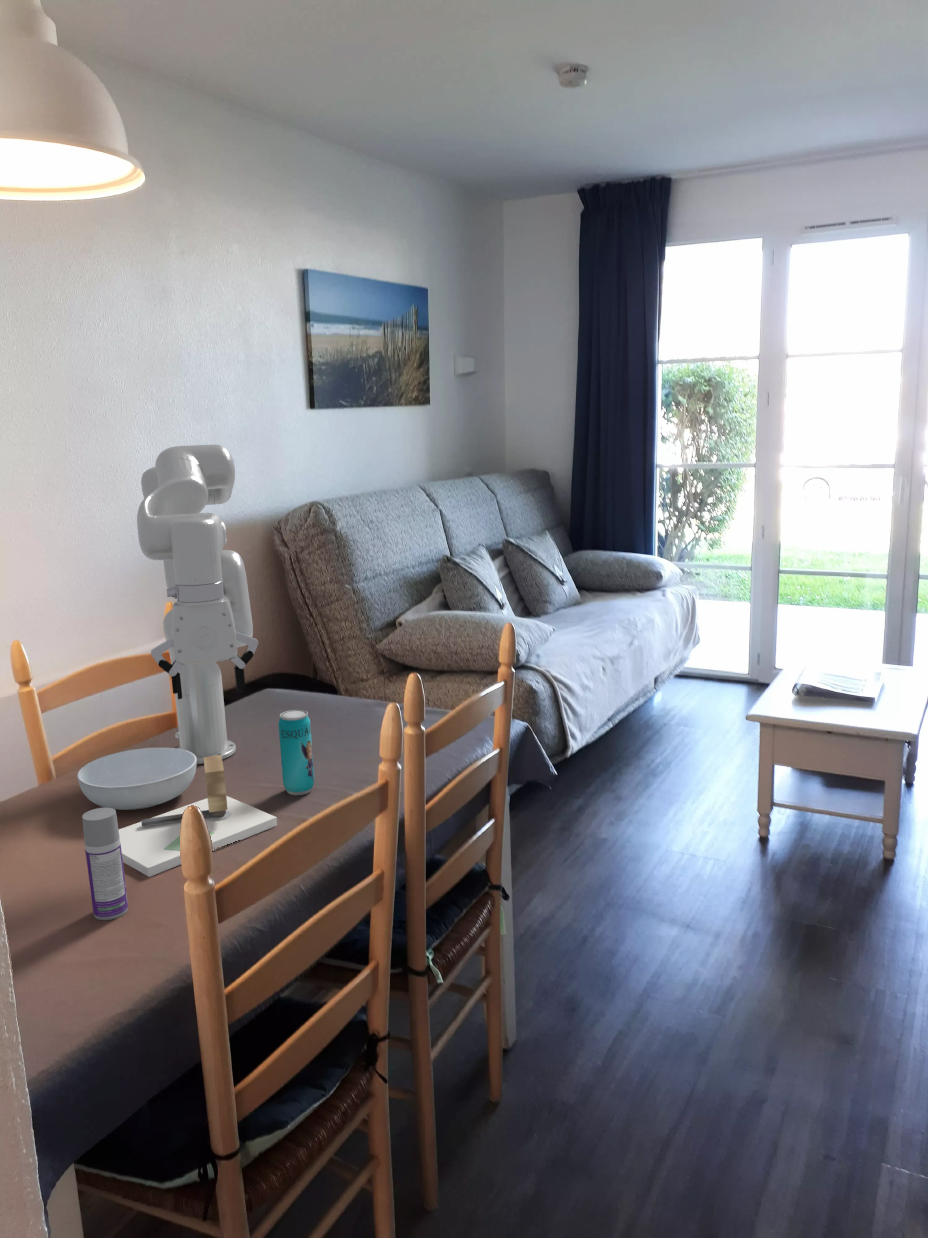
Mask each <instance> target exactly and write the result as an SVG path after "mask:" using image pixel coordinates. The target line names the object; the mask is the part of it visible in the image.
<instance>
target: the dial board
mask: <svg viewBox="0 0 928 1238" xmlns="http://www.w3.org/2000/svg"><path fill="white" fill-rule="evenodd" d="M226 798H227V809H228V810H226V814H225V815H223V816H219V817H213V816H208V817H204V818H205V820H206V823H207V826H208V831H209V833H210V836H211V840H212V846H213V852H215V851H214V847H215V849H216V848H217V847H221V846H224V845H227V844H230V843H232V844H234V843H233V842H235V841H237V842H239V841H238V840H240V841H242V840H244V839H248V838H249V837H252V836H255V835H257V834H259V833H263V832H265V831H267V830H269V829H273V828H274V827H277V826H278V818H277V816H275V815H272V814H270V813H267V812H265V811H264V810H260V809H259V808H256V807H254V806H251V805H249V804H246V803H244V802H242V801H239V800H237V799H235V798H232V797H231V796H228V795H226ZM191 805H194V806H197V807H199V808H200V810H201V811H205V810H209V806H208V798H207V797H206V798H204V799H201V800H200V799H199V800H198V801H195V802H192V803H190V804H187V805H184V806H181V807H179V808H176V809H172V810H170V811H167V812H165V813H161V814H159V815H156V816H152V818H157V817H163V816H170V815H177V814H183V812H184V810H185V809H186V808H187V807H188V806H191ZM180 827H181V821H174V822H167V823H160V824H154V825H147V826H142V820H141V821H139V822H137V823H133V824H131V825H128V826H125V827H122V828H118V829H119V836H120V843H121V851H122V859H123V864H126V865H128V866H129V867H131V868H133V869H134V870H136V871H138V872H139V873H141V874H143V875H145V876H147V877H148V878H150V877H153V876H155V875H157V874H161V873H162V872H166V871H168V870H171V869H172V868H174V867H178V866H180V865H182V864H181V859H180ZM235 843H236V842H235ZM230 845H231V844H230Z"/></svg>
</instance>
